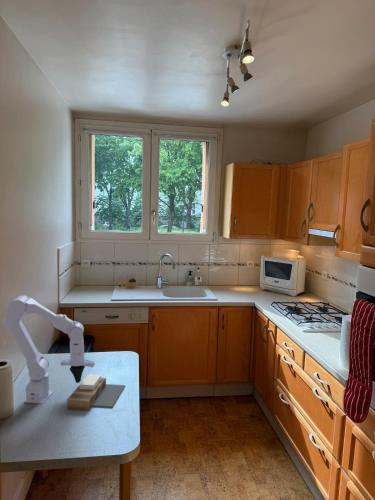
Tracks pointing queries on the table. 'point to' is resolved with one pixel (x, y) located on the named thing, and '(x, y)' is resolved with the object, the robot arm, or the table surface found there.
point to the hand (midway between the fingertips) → (78, 381)
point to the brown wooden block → (85, 397)
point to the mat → (108, 396)
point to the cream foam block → (90, 382)
